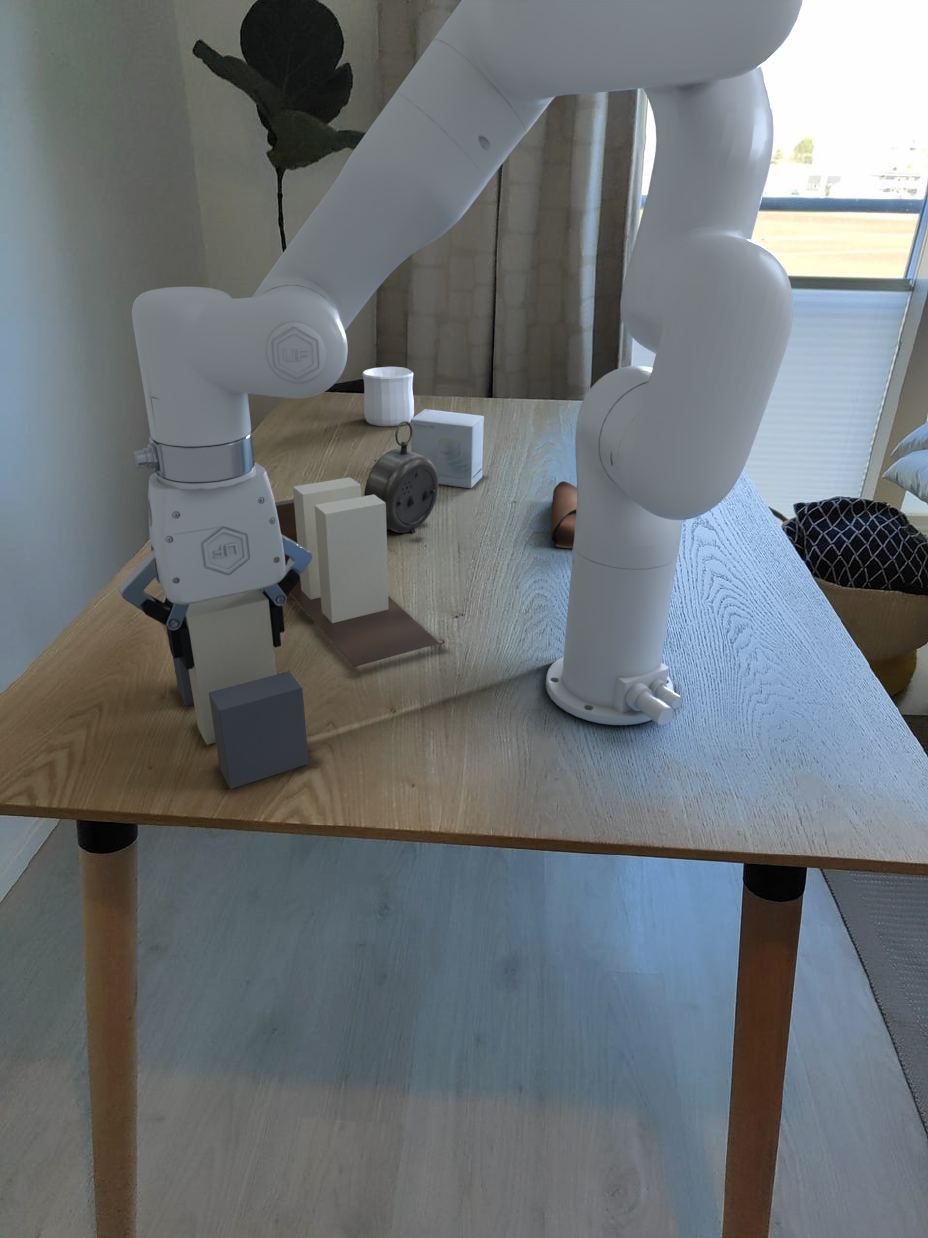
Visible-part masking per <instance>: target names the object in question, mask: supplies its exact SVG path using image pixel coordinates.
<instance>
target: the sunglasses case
mask: <svg viewBox="0 0 928 1238" xmlns="http://www.w3.org/2000/svg"><path fill="white" fill-rule="evenodd" d="M551 501H552V502H551V518H550V519H551V520H550V539H551V542H552V543H553V544H554V546H555V547H557V548H559V549H567V550H573V543H574V535H575V522H576V506H577V486H576V485H573V484H572V483H570V482H568V481H565V480H562V481H559V483H558V484H556V486H555V487H554V489H553V493H552V500H551Z"/></svg>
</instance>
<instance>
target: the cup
mask: <svg viewBox="0 0 928 1238" xmlns="http://www.w3.org/2000/svg"><path fill="white" fill-rule="evenodd" d="M414 374H415V373H414V372H413V371H412V370H411V369H409V368H407V367H403V366H382V367H380V366H379V367H373V368H368V369H366V370H364V371H363V372H362V378H363V387H364V388H363V389H364V391H363V414H364V419H365V421H366V422H367V423H368V424H369V425H370V426H371V425H372V426H376V427H398V425H399V424H400V423H401V422H402V421H408V422H409V423H410V424H411V419H412V418H413V417H415V402H414V401H415V400H414V399H415V398H414V392H413V381H414ZM404 425H407V424H406V423H404V424H402V425H401V426H404Z"/></svg>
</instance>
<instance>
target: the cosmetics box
mask: <svg viewBox="0 0 928 1238" xmlns="http://www.w3.org/2000/svg"><path fill="white" fill-rule="evenodd" d="M410 424H411V426H412V437H411V440H410V441H411V452H413V453H416V454H419V455H422V456H424V457H426V458H427V459H429V460H430V461H431V462H432V464H433V465H434V467H435V469H436V472H437V476H438V485H443V486H450V487H456V488H464V489H472V488H473V487H474V486H475V485H476V484H477V483H478V482H479V481H480V480H481V479H482V478H483V454H484V451H483V450H484V424H485V416H484V415H479V414H469V413H463V412H453V411H447V410H445V411H444V410H436V409H428V408H424V409H423V410H421V411H419V413H417V414H416V415H414V416H413V418H412V419H411V422H410Z"/></svg>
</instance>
